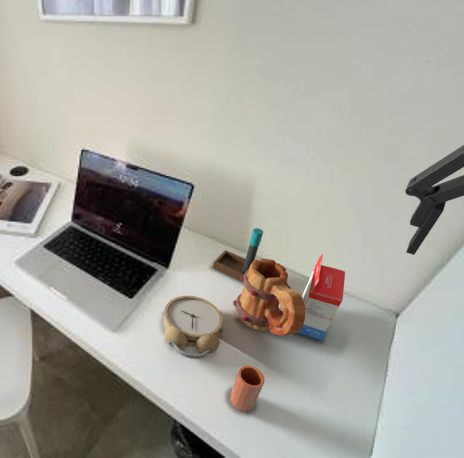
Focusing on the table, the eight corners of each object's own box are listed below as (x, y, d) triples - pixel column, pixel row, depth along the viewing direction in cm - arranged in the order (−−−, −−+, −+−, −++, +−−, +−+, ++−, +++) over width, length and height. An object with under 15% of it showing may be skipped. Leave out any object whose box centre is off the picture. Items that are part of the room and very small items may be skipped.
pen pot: (258, 404, 61) (270, 380, 56) (242, 416, 60) (252, 392, 55) (241, 386, 64) (250, 361, 59) (224, 396, 63) (233, 372, 58)
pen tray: (281, 281, 82) (283, 275, 80) (271, 295, 79) (273, 289, 78) (223, 256, 90) (225, 249, 89) (212, 268, 87) (213, 261, 86)
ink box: (321, 341, 69) (350, 290, 60) (292, 331, 72) (315, 280, 63) (325, 310, 74) (352, 259, 66) (298, 302, 77) (320, 251, 68)
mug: (224, 303, 79) (237, 253, 69) (260, 298, 79) (277, 246, 70) (260, 363, 67) (281, 312, 58) (302, 356, 67) (330, 304, 58)
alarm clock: (221, 299, 76) (225, 351, 64) (217, 316, 78) (221, 370, 66) (166, 291, 79) (161, 339, 67) (165, 308, 82) (159, 358, 69)
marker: (252, 273, 84) (265, 231, 76) (246, 276, 83) (258, 235, 76) (245, 268, 85) (257, 227, 78) (239, 271, 85) (250, 230, 77)
